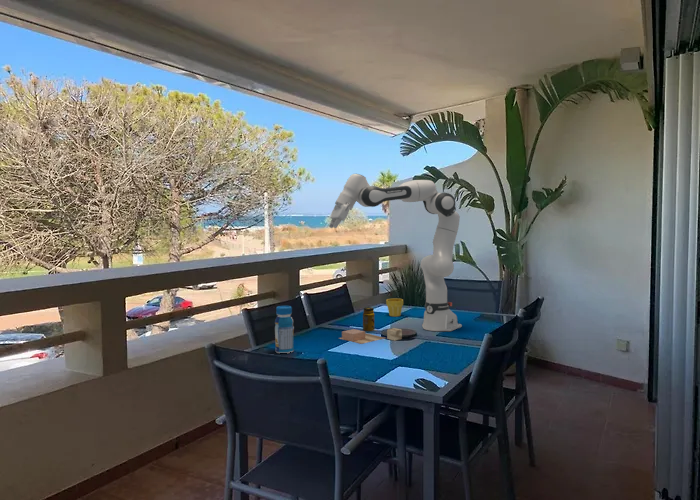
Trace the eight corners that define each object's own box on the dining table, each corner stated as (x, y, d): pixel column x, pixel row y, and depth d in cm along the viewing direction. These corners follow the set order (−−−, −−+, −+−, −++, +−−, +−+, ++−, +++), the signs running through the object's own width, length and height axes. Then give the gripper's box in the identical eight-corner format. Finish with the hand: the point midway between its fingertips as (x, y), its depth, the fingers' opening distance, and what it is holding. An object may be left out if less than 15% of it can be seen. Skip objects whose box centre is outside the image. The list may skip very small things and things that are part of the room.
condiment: (377, 331, 256) (377, 308, 256) (364, 333, 252) (364, 310, 251) (369, 328, 263) (369, 306, 262) (356, 330, 258) (356, 308, 257)
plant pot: (384, 316, 295) (384, 300, 294) (388, 313, 304) (388, 298, 304) (401, 317, 292) (401, 301, 291) (404, 314, 301) (404, 298, 301)
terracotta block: (354, 336, 244) (354, 329, 244) (365, 338, 238) (365, 331, 238) (342, 338, 239) (341, 331, 238) (353, 341, 233) (353, 334, 233)
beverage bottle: (285, 355, 211) (285, 309, 210) (271, 352, 216) (270, 307, 215) (298, 350, 219) (297, 306, 217) (283, 348, 223) (282, 304, 222)
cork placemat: (363, 333, 251) (363, 332, 251) (386, 338, 239) (386, 337, 239) (338, 338, 240) (338, 338, 240) (361, 344, 228) (361, 344, 228)
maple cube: (394, 338, 241) (394, 328, 241) (401, 339, 237) (401, 329, 237) (387, 339, 238) (387, 329, 237) (394, 341, 234) (394, 331, 234)
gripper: (355, 205, 236) (342, 230, 235) (345, 206, 256) (333, 230, 255) (344, 199, 235) (331, 224, 234) (335, 200, 255) (323, 224, 254)
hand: (332, 227), depth 245 cm, fingers open, 8 cm apart
